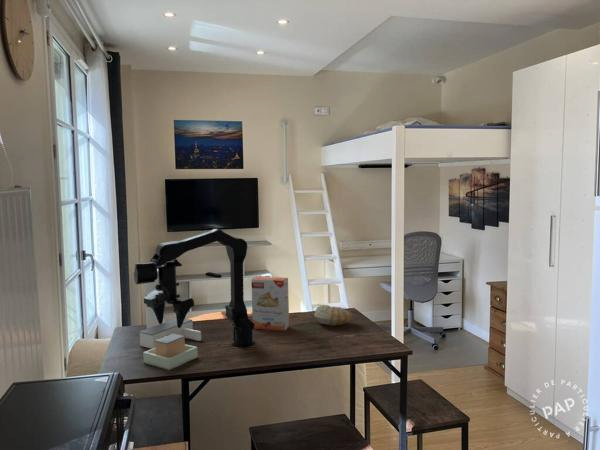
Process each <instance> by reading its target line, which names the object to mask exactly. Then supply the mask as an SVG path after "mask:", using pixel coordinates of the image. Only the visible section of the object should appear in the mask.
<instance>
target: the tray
mask: <svg viewBox="0 0 600 450" xmlns="http://www.w3.org/2000/svg"><path fill="white" fill-rule="evenodd" d="M198 353H199V352H198V346H195V345H190V344H186V343H185V351H184V352H182V353H180V354H178V355H175V356H173V357H171V358H167V357H163V356H160V355H156V347H155V348H153V349H151V348H149V349H148V350H146V351H143V352H142V355H143V357H142V358H143V363H144V364H147V365H150V366H154V367H156V368H157V367H158V368H161V369H164V370H168V371H171V370H173V369H176V368H177V367H181V366H182V365H184V364H186V363H189V362H191V361H193V360H195V359H197V358H198Z"/></svg>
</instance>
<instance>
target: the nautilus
mask: <svg viewBox="0 0 600 450" xmlns="http://www.w3.org/2000/svg"><path fill="white" fill-rule="evenodd" d="M313 315H314V317H315V319H316V320H317V322H319V323H320V324H323V325H326V326H332V327H334V326H340V325H344V324H346V323H347V324H348V323H349V322H350V321H352V319H353V314H352V313H351V311H349V310H347V309H344V308H342V307H340V306H338V307H337V306H330V305H328V304H327V305H325V304H321V303H319V305H318V306H317V307H316V309H315V311H314V314H313Z"/></svg>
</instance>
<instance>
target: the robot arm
mask: <svg viewBox="0 0 600 450" xmlns="http://www.w3.org/2000/svg"><path fill="white" fill-rule="evenodd" d="M216 242H217V243H219V244H221V245H222V246H224V247H225V250H226V255H227V257H228V260H229V263H230V265H229V266H230V267H229V269H230V272H229V273H230V301H229V304H227V305H225V306H224V307H225V315H224V316H225V317H226V319H227V320H228V322H230V323H231V325H232V326H233V330H232V331H233V333H232V335H233V338H232V339H233V342H231V346H235V347H238V348H244V349H245V348H247V347H249V346H251V345H253V344H255V343H256V340H253V330H255V329H254V325H255V324H254V323H253V320H250V318H249V315H248V309H247V306H246V304H245V300H244V261H245V259H246V257H247V253H248V252H247V251H248V243H247V241H246V240H245V239H243V238H241V237H236V236H233V235H230V234H228V233H226V232H224V231H223V230H221V229H219V228H213V229H212V230H209V231H206V232H203V233H200V234H197V235H194V236H192V237H187V238H185V239H181V240H174V241H173V240H172V241H166V242H161V243H159V244H158V245H157V246H156V248H155V253H154V254H153V255H152V258H151V259H150V260H149V262H142V263H141V262H135V263H134V266H135V267H134V272H133V279H134V282H135V283H134V284H135V285H144V283H152V282H155V280H156V279H157V278H158V277H159V284H156V289H155V290H154V291H152V292H151V293H149V294H148V295H146V296H145V295H144V297H143V304H144V305H145V304H147V306H148V307H150V308H152V309H153V311H154V313H155V315H156V318H157V320H158V322H159V324H162V322H163V316H164V317H165V306H166V304H169V305H172V308H173V309H172V311H173V313H175V316H176V318H175V319H177V326H178V328H181V326H182V324H183V321H184V319H186V318H187V314H188V313H189V310H191V309H192V307H195V300H194V299H193V297H186V296H184V297H181V294H180V293H178V286H180V282H178V281H177V268H176V267H182V266H183V263H181V262H179V260H178V258H179V257H181V256H183V255H184V254H185V253H187V252H189V251H192V250H195V249H198V248H201V247H204V246H208V245H210V244H212V243H216ZM157 269H158V272H157Z"/></svg>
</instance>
